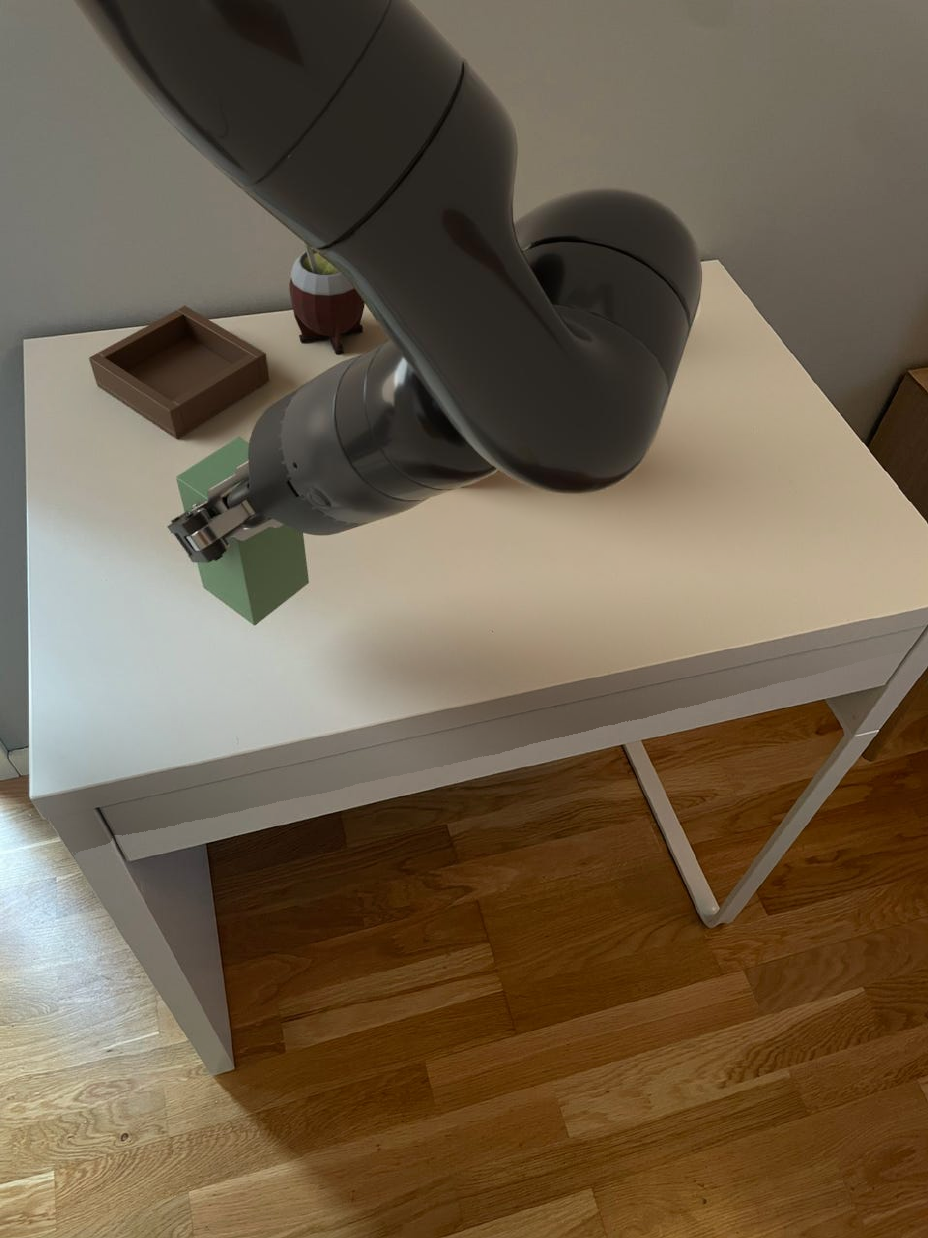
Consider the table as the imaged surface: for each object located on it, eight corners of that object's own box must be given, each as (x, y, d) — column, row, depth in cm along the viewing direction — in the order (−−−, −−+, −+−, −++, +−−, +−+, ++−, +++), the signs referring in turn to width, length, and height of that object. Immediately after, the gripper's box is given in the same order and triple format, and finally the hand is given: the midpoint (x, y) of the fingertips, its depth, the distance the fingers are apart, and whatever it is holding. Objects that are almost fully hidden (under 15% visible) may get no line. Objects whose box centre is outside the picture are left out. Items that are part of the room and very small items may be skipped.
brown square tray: (177, 439, 85) (170, 411, 82) (97, 385, 89) (88, 357, 86) (269, 381, 90) (265, 352, 88) (190, 333, 94) (184, 304, 92)
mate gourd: (356, 309, 98) (348, 161, 86) (379, 355, 93) (374, 205, 82) (283, 321, 96) (265, 172, 84) (302, 369, 92) (286, 217, 80)
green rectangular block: (254, 626, 63) (233, 517, 56) (203, 587, 65) (175, 476, 57) (309, 583, 66) (296, 472, 58) (258, 547, 68) (238, 435, 60)
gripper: (410, 315, 50) (272, 401, 64) (195, 453, 43) (92, 517, 57) (484, 440, 52) (335, 498, 66) (291, 592, 45) (169, 621, 59)
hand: (224, 506), depth 61 cm, fingers closed on green rectangular block, 5 cm apart
